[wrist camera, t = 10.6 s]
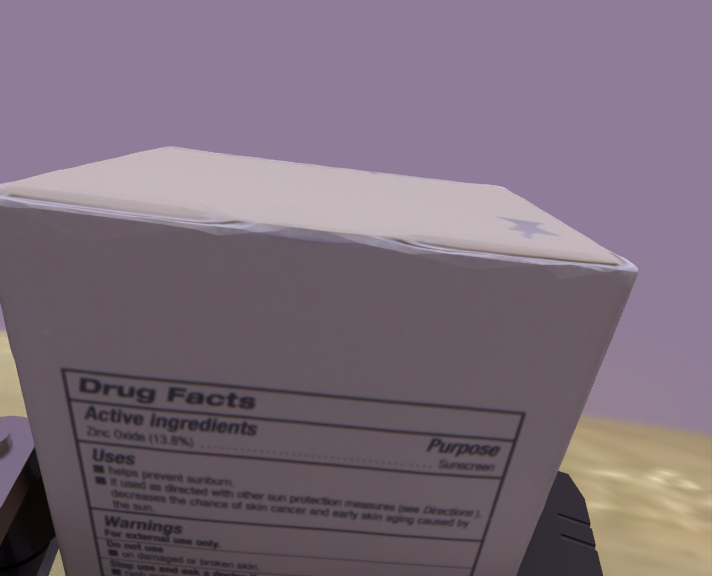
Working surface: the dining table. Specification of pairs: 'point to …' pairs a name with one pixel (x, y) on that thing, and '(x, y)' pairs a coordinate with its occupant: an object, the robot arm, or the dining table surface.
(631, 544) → the dining table surface
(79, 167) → the skincare box
